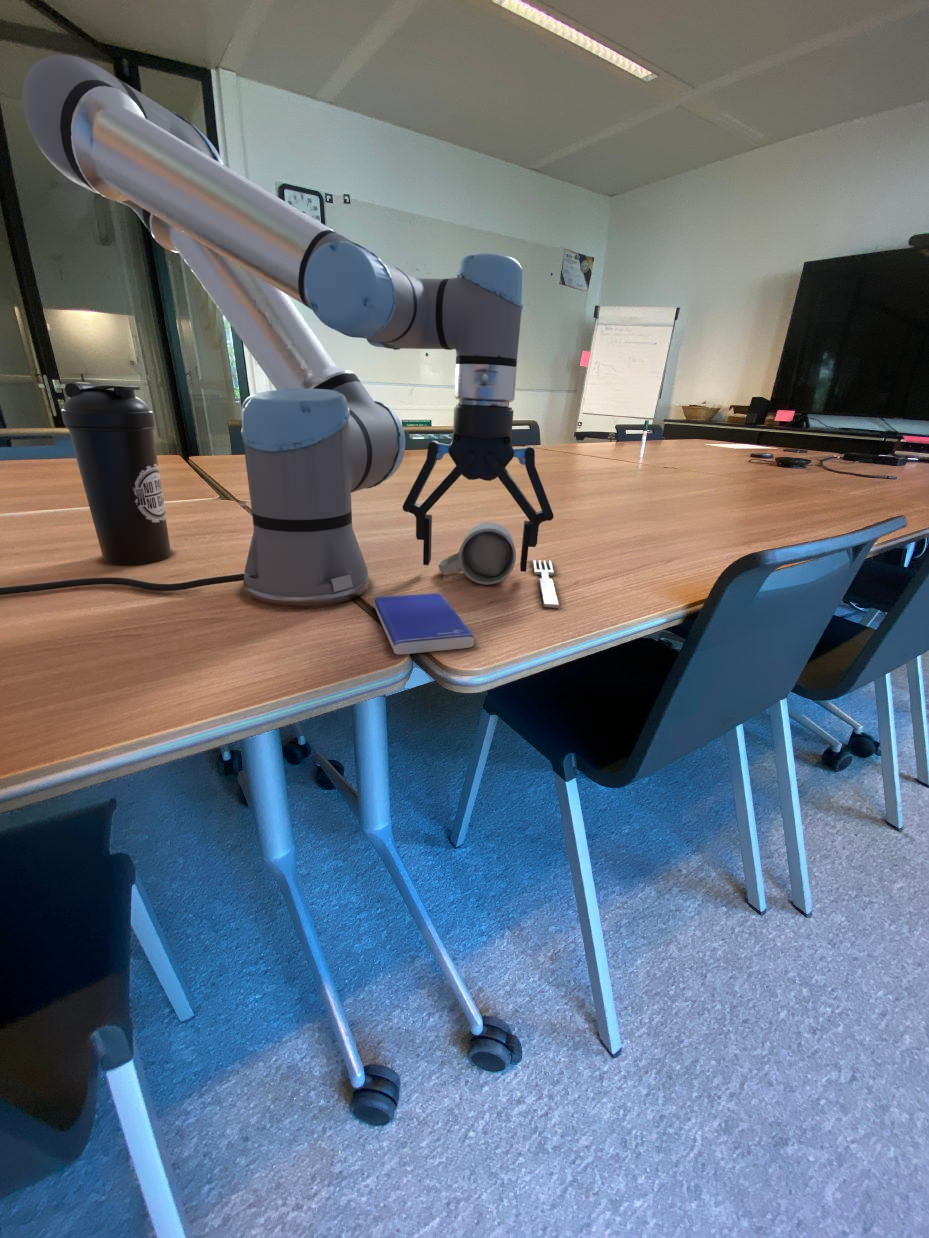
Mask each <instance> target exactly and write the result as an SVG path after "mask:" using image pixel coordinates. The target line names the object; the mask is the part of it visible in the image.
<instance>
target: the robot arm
mask: <svg viewBox="0 0 929 1238" xmlns="http://www.w3.org/2000/svg"><path fill="white" fill-rule="evenodd" d="M21 91H22V97H21V98H22V109H23V115H24V118H25V121H26V125H27V128H28V130H29V132H30V134H31V136H32V138H33V140H34V142H35V144H36V145H37V147H38V149H39V150H40V151H41V153H42V154H43V156H44V157H45V158H46V159H47V160H48V161H49V163H51V165H52V166H53V167H54V168H56V170H57V171H59V172H60V173H61V174H62V175H64V176H65V177H66V178H67V179H69V180H70V181H72V182H73V183H76V184H77V185H79V186H81V187H83V188H84V189H86V190H88V191H90V192H92V193H96V194H98V195H100V196H102V197H104V198H106V199H108V200H110V201H114V202H117V203H121V204H123V205H125V206H128V207H129V208H130V209H132V211H134V212H135V214H136V215H137V216H138V218H139V219H140V220H141V222H142V223H143V224H144V227H146V229H147V230H148V232H149V233H150V234H151V236H152V238H153V239H154V240H155V241H156V242H157V244H159V245H160V247H162V248H163V249H165V250H168V251H170V252H173V253H178V254H179V255H180V256H181V258H182V259H183V261H184V262H185V263H186V265H187V266H188V268H189V269H190V271H191V272H192V273H193V275H194V276H195V277H196V279H197V280H198V281H199V283H200V284H201V286H202V287H203V289H204V290H205V291H206V293H207V294H208V296H209V297H210V299H211V300H212V301H213V303H214V304H215V305H216V307H217V308H218V310H219V311H220V312H221V314H222V315H223V317H224V318H225V320H226V321H227V322H228V323H229V325H230V327H231V328H232V329H233V331H234V332H235V334H236V335H237V336H238V338H239V339H240V341H241V342H242V343H243V345H244V346H245V347H246V349H247V350H248V352H249V353H250V355H251V356H252V357H253V359H254V360H255V362H257V364H258V366H259V367H260V368H261V370H262V372H263V373H264V374H265V375H266V377H267V379H268V380H269V381H270V382H271V384H272V386H273V387H274V388H275V390H266V391H261V392H257V393H253V394H251V395H249V396H248V397H246V398H245V399H244V401H243V402H242V404H241V410H240V411H241V430H240V435H241V441H242V443H243V449H244V450H243V451H244V459H245V466H246V474H247V483H248V491H249V492H248V493H249V500H250V507H251V516H252V524H253V526H252V527H253V531H252V537H251V541H250V545H249V550H248V554H247V558H246V562H245V567H244V570H243V573H237V574H229V575H221V576H213V577H206V578H201V579H195V580H190V581H184V582H177V583H156V582H155V583H154V582H149V581H148V582H147V581H142V580H138V579H132V578H126V577H115V576H114V577H113V576H112V577H109V576H108V577H86V578H73V579H65V580H57V581H50V582H41V583H31V584H21V585H13V586H3V587H0V596H4V595H5V596H7V595H15V594H22V593H23V594H24V593H32V592H33V593H34V592H42V591H51V590H58V589H67V588H76V587H84V586H96V585H97V586H98V585H99V586H100V585H116V586H117V585H118V586H126V587H133V588H138V589H143V590H147V591H148V590H149V591H154V592H155V591H158V592H175V591H176V592H177V591H184V590H190V589H195V588H200V587H207V586H212V585H213V586H214V585H220V584H227V583H235V582H243V586H244V587H243V588H244V593H245V595H246V597H248V598H249V599H251V600H252V601H254V602H257V603H259V604H263V605H267V606H271V607H278V608H286V609H287V608H290V609H307V608H309V609H310V608H320V607H321V608H322V607H326V606H327V607H328V606H334V605H338V604H342V603H345V602H348V601H352V600H353V599H356V598H358V597H360V596H361V595H363V594H365V592H366V591H367V590H368V589H369V572H368V567H367V564H366V562H365V561H366V560H365V558H364V556H363V553H362V549H361V547H360V545H359V542H358V539H357V537H356V534H355V532H354V529H353V513H352V512H353V511H352V493H356V492H358V491H362V490H366V489H372V488H375V487H378V486H379V485H381V484H382V483H383V482H385V481H387V480H388V479H390V478H391V477H393V475H394V474H396V472H397V471H398V469H399V468H400V467H401V465H402V462H403V460H404V457H405V449H406V434H405V429H404V427H403V424H402V422H401V421H400V419H399V417H398V415H397V414H396V413H395V412H394V411H393V410H392V409H391V408H390V407H389V406H387V405H385V404H384V403H383V402H380V401H378V400H377V401H376V400H374V399H373V397H372V396H371V394H370V393H369V392H368V391H367V389H366V387H365V386H364V384H363V383H362V382H361V380H360V379H359V378H358V376H357V374H356V373H355V372H354V371H352V370H348V369H342V368H339V367H338V366H337V364H336V363H335V362H334V360H333V359H332V358H331V356H330V354H329V353H328V351H327V350H326V349H325V347H324V346H323V344H322V343H321V342H320V340H319V339H318V337H317V336H316V334H315V333H314V332H313V329H312V328H311V327H310V326H309V324H308V323H307V321H306V320H305V318H304V317H303V315H302V314H301V313H300V312H299V310H298V308H297V307H296V304H294V302H293V301H292V300H291V298H292V299H294V300H295V301H297V302H298V303H300V304H302V305H304V306H305V307H306V308H308V309H310V310H311V311H312V312H313V314H314V315H315V316H316V317H317V319H318V320H319V321H320V322H321V323H322V324H323V325H325V326H326V327H328V328H330V329H332V330H334V331H337V332H338V333H340V334H342V335H344V336H347V337H349V338H356V339H357V338H358V339H365V340H366V341H367V343H368V344H370V346H373V347H374V348H375V347H376V348H385V349H388V350H389V349H390V350H393V351H398V350H401V349H402V350H403V349H404V350H405V349H409V350H446V351H453V350H455V371H454V372H455V375H454V398H455V400H458V403H457V404H455V406H454V407H453V424H452V425H453V430H452V440H451V443H450V444H447V443H443V442H439V441H438V440H435V439H434V440H432V441H430V442H429V443H428V445H427V452H426V458H425V461H424V462H423V465H422V467H421V469H420V471H419V473H418V475H417V476H416V479H415V481H414V483H413V485H412V487H411V489H410V490H409V492H408V495H407V497H406V498H405V500H404V502H403V504H402V510H403V512H405V513H410V514H412V515H413V516H414V517H415V538H416V540H417V541H423V547H422V549H423V551H422V566H429V565H430V563H431V561H432V531H433V530H432V529H433V514H427V513H428V512H429V511H430V510H431V509H432V508H433V507H434V506H435V504H436V503H437V502H438V501H439V500H440V499H441V498H442V497H443V495H444V494H445V493H446V492H447V491H448V490H449V489H450V488H451V487H452V486H453V484H454V483H456V481H457V480H458V479H459V478H460V477H461V476H462V477H464V478H465V479H467V480H468V481H469V480H470V481H474V480H475V481H476V480H483V481H486V482H488V481H489V482H492V481H493V480H496V479H497V478H498V479H499V481H500V483H501V484H502V485H503V486H504V487H505V489H506V490H507V491H508V493H509V494H510V496H511V497H512V498H513V500H514V501H515V503H516V504H517V505H518V507H519V508H520V509H521V511H522V512H523V513H524V515H525V516H526V518H527V519H528V520H523V529H522V531H523V532H522V539H521V540H522V541H521V549H520V550H521V553H520V562H519V563H520V564H519V569H520V572H524V573H526V572H527V565H528V556H529V548H536V546H537V544H538V537H539V528H540V525H541V523H544V522H547V521H548V522H549V521H552V520H553V519H554V516H555V515H554V513H553V512H554V511H553V510H552V507H551V504H550V502H549V499H548V497H547V494H546V492H545V488H544V486H543V484H542V481H541V478H540V475H539V473H538V469H537V468H536V455H535V454H536V453H535V451H536V450H535V449H534V447H533V446H532V445H527V446H526V447H513V444H512V438H513V437H512V436H513V435H512V434H513V421H514V409H513V407H511V406H510V403H513V402H514V401H515V398H516V386H517V385H516V384H517V371H518V370H517V369H518V367H517V366H518V352H519V344H520V343H519V341H520V332H521V331H520V330H521V320H522V311H523V307H524V304H523V273H524V272H523V267H522V266H521V264H520V263H519V261H518V260H517V259H515V258H513V257H512V256H508V255H505V254H498V253H485V252H484V253H483V252H482V253H476V254H468V255H466V256H464V257H463V258H461V260H460V262H459V265H458V266H459V267H458V271H457V275H456V277H450V278H422V277H421V278H420V277H419V278H418V277H413V276H412V275H411V274H409V273H407V272H405V271H404V270H402V269H400V268H398V267H396V266H394V265H392V264H391V263H389V262H388V261H386V260H384V259H382V258H381V257H379V256H378V255H377V254H376V253H374V252H372V251H370V250H369V249H367V248H366V247H364V246H362V245H361V244H359V243H356V242H353V241H352V240H350V239H349V238H347V237H345V236H343V235H341V234H339V233H337V232H336V231H334V230H333V229H332V228H330V227H329V226H327V225H325V224H324V223H322V222H320V221H318V220H317V219H315V218H313V217H311V216H310V215H308V214H307V213H305V212H303V211H301V209H298V208H296V207H295V206H293V205H291V204H290V203H288V202H287V201H285V200H283V199H281V198H280V197H279V196H276V195H275V194H273V193H271V192H269V191H268V190H266V189H265V188H263V187H261V186H259V185H258V184H256V183H255V182H253V181H251V180H249V179H248V178H246V177H244V176H243V175H241V174H239V173H238V172H236V171H235V170H232V169H231V168H229V167H228V166H226V165H225V164H224V163H223V160H222V158H221V156H220V153H219V152H218V151H217V149H216V147H215V146H214V144H213V143H212V142H211V140H209V139H208V137H207V136H206V135H205V134H204V133H202V131H201V130H199V129H198V128H197V127H196V126H195V125H194V124H192V123H191V122H190V121H189V120H188V119H187V118H186V117H184V116H182V115H180V114H178V113H177V112H175V111H173V110H171V109H168V108H165V107H163V106H162V105H160V104H159V103H158V102H156V101H154V100H153V99H151V98H150V97H148V96H146V95H145V94H143V93H142V92H140V91H139V90H137V89H135V88H134V87H132V86H130V85H129V84H128V83H126V82H124V81H123V80H121V79H120V78H118V77H117V76H115V75H113V74H111V73H110V72H109V71H107V70H106V69H104V68H102V67H101V66H99V65H97V64H96V63H93V62H91V61H89V60H86V59H84V58H81V57H78V56H74V55H69V54H52V55H50V56H46V57H44V58H42V59H40V60H38V61H36V62H35V63H34V64H33V65H32V66H31V67H30V69H29V70H28V72H27V74H26V76H25V78H24V82H23V86H22V90H21ZM446 454H448V455H449V457H450V459H451V460H452V461H453V463H454V464H455V466H454V467H453V469H451V471H450V472H449V473H448V474H447V475H446V476H445V478H444V479H443V480H442V481H441V482H440V483H439V484H438V485H437V487H436V488H435V489H433V491H432V492H431V493H430V494H429V495H428V496H427V497H426V499H425V500H424V501H423V502H422V503H421V504H419V503H417V501H418V499H419V497H420V495H421V493H422V492H423V489H424V487H425V486H426V484H427V482H428V480H429V478H430V476H431V474H432V472H433V470H434V468H435V466H436V465H437V462H438V461H440V460H442V459H443V458H444V456H445V455H446ZM513 458H517V459H518V463H519V464H520V465H522V466H525V469H526V473H527V475H528V478H529V481H530V483H531V486H532V489H533V491H534V493H535V496H536V499H537V501H538V504H539V507H540V510H539V511H536V509H535V508H534V507H533V505H532V504H531V502H530V501H529V499H528V498H527V496H526V495H525V494H524V492H523V491H522V490H521V489H520V487H519V485H518V484H517V483H516V481H515V480H514V478H513V477H512V476H511V474H510V473H509V470H507V468H506V467H507V466H508V465H509V464H510V462H511V461H512V460H513Z"/></svg>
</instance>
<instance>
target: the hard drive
mask: <svg viewBox="0 0 929 1238" xmlns="http://www.w3.org/2000/svg"><path fill="white" fill-rule="evenodd" d="M373 603H374V605H373V606H374V609H375V612H376V614H377V616H378V619H379V621H380V623H381V626H382V628H383V631H384V632H385V635H386V637H387V639H388V641H389V644H390V646H391V649H392V650H393V654H395V655H410V654H420V653H429V652H430V653H432V652H439V651H441V652H442V651H452V650H461V649H469V648H472V647H473V646H474V642H475V638H474V634H473V633H472V631H471V630H470V629H469V628H468V626H467V625H466V624H465V623H464V621H463V620H462V619H461V618H460V617H459V615H458V613H456V611H455V610H454V609H453V607H452V606H451V604H449V603H448V601H447V600H446V599H445V597H444V596H443V595H442V593H438V592H436V593H421V594H420V593H418V594H407V595H391V596H390V595H388V596H378V597H375V598H374V599H373Z"/></svg>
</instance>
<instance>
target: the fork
mask: <svg viewBox="0 0 929 1238" xmlns="http://www.w3.org/2000/svg"><path fill="white" fill-rule="evenodd" d="M532 567H533V573H534V575H536V576H540V578H539V579H538V582H539V586H540V593H541V599H542V605H543V608H548V609H549V608H552V609H559V608H560V607H559V606H560V604H559V599H558V597H557V596H558V595H557V593H556V588H555V584H554V581H553V578H550V576H551V577H553V576H554V575H555V571H554V568H553V564H552V561H551V560H548V562H547V561H546V560H541V559H538V560H536V559H533V560H532Z"/></svg>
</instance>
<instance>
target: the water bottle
mask: <svg viewBox="0 0 929 1238" xmlns="http://www.w3.org/2000/svg"><path fill="white" fill-rule="evenodd" d="M140 390H141V387H140V386H139V385H138V386H137V385H111V384H110V385H96V384H94V383H92V382H91V383H90V382H79V381H78V382H77V381H75V382H74V381H73V382H68V383H66V384H65V386H64V392H65V394H66V396H67V397H68V398H67V399H66V400H65V402H64V404H63V408H61V410H60V413H61V417H62V421H63V424H64V426H65V429H67V430H68V433H69V436H70V439H71V443H72V448H73V451H74V455H75V458H76V463H77V466H78V469H79V474H80V478H81V481H82V484H83V488H84V492H85V496H86V499H87V503H88V508H89V510H90V514H91V515H90V516H91V519H92V522H93V525H94V530H95V533H96V537H97V540H98V545H99V548H100V552H101V555H102V559H103V562H105V563H107V564H109V565H115V566H136V565H137V566H138V565H147V564H152V563H156V562H159V561H163V560H166V559H167V558H169V557H171V555H172V551H171V544H170V538H169V537H170V536H169V531H168V523H167V517H166V506H165V501H164V494H163V486H162V480H161V472H160V466H159V461H158V455H157V447H156V441H155V433H154V430H155V426H156V421H155V415H154V412H153V411H151V410H150V408H149V406H148V404H146V402H144V401H143V400H142V399H141V398H139V397H138V396H136V393H135V391H140Z"/></svg>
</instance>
